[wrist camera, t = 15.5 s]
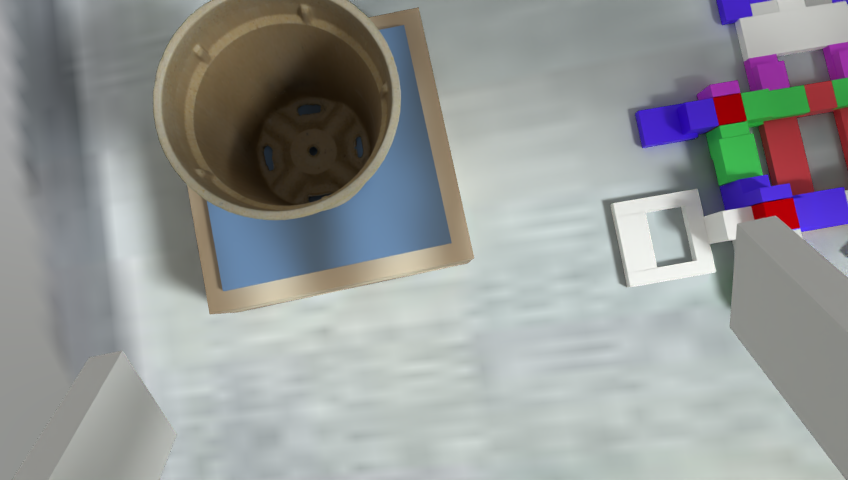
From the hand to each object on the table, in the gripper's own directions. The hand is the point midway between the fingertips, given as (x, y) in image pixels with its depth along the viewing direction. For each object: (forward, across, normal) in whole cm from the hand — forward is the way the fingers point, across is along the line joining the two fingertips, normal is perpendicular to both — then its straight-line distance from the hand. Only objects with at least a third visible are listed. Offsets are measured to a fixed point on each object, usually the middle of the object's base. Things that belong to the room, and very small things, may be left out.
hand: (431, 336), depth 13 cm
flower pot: (+19, -6, -3) cm, 20 cm away
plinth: (+23, -6, -6) cm, 25 cm away
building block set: (+24, +23, -10) cm, 35 cm away
